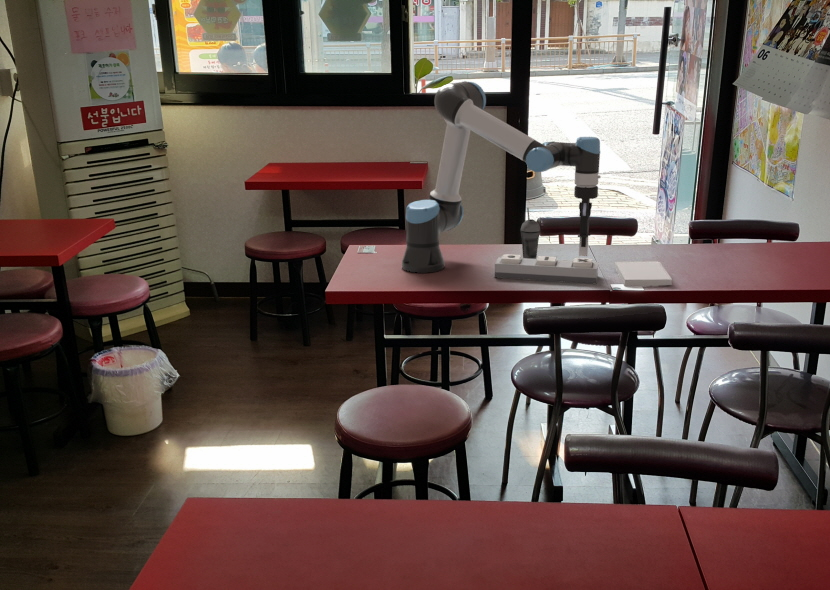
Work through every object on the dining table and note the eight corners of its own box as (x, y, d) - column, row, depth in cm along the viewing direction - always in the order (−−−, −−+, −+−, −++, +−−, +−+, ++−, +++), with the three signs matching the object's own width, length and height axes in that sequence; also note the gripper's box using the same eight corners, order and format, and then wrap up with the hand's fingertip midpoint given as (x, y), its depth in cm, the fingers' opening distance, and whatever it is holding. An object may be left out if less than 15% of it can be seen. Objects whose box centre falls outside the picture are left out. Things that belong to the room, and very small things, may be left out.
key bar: (536, 267, 273) (536, 260, 272) (538, 262, 278) (538, 255, 277) (554, 268, 271) (554, 261, 270) (556, 263, 277) (556, 256, 276)
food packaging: (671, 289, 264) (658, 270, 282) (672, 279, 262) (659, 261, 281) (624, 289, 265) (614, 271, 284) (624, 279, 264) (615, 261, 282)
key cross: (572, 269, 270) (572, 262, 269) (573, 264, 275) (574, 257, 274) (590, 270, 268) (591, 262, 267) (592, 265, 274) (592, 258, 273)
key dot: (501, 265, 276) (501, 258, 275) (503, 261, 281) (504, 253, 280) (518, 266, 274) (518, 259, 273) (521, 262, 280) (521, 254, 279)
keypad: (494, 277, 276) (494, 263, 274) (498, 270, 284) (498, 256, 283) (596, 283, 268) (597, 269, 266) (597, 276, 276) (598, 262, 274)
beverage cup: (540, 264, 292) (542, 209, 286) (520, 264, 292) (521, 209, 286) (538, 258, 299) (540, 205, 293) (518, 259, 299) (519, 205, 293)
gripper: (597, 189, 256) (593, 261, 263) (599, 182, 268) (595, 251, 275) (573, 188, 258) (570, 260, 265) (576, 181, 270) (573, 250, 277)
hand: (583, 255), depth 270 cm, fingers closed
